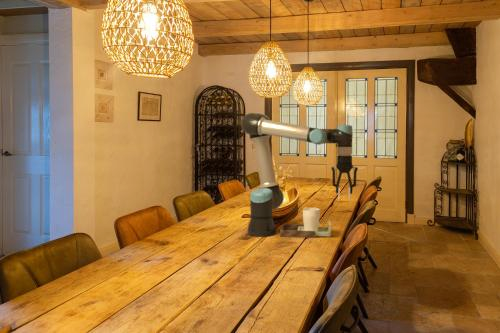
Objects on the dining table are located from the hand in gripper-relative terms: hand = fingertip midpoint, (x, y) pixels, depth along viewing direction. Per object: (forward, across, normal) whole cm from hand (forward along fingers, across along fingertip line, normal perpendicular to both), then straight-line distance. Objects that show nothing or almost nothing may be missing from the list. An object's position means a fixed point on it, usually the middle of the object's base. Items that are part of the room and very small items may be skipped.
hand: (343, 199), depth 233 cm
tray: (+18, -15, 0) cm, 24 cm away
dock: (+19, -24, 0) cm, 30 cm away
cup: (+17, -17, 0) cm, 24 cm away
